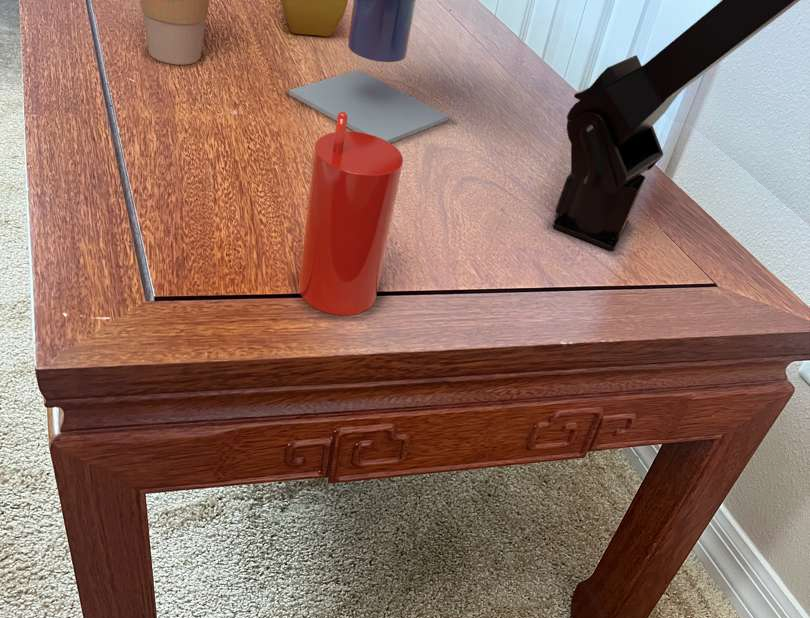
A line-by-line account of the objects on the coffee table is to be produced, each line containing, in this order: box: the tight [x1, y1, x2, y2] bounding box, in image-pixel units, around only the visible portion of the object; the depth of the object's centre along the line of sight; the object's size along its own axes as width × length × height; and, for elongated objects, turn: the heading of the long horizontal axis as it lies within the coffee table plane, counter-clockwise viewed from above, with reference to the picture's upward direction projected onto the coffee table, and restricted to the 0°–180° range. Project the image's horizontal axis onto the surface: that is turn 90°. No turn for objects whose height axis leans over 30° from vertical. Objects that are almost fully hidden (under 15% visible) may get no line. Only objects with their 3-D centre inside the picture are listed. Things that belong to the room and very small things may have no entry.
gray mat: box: [288, 69, 449, 144], centre depth 94 cm, size 14×12×1 cm
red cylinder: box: [298, 112, 404, 316], centre depth 62 cm, size 6×6×16 cm
